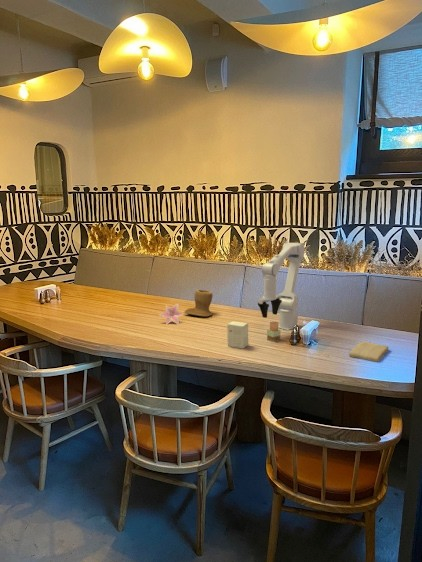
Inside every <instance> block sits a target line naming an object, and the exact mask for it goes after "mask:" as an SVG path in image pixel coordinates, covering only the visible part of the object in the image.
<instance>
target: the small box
mask: <svg viewBox="0 0 422 562" xmlns="http://www.w3.org/2000/svg"><path fill="white" fill-rule="evenodd" d="M226 330H227V347H231V348H237V349H238V348H239V349H245V348H246V347H248V346H249V323H248V322H241V321H231V322H229V323H227V328H226Z"/></svg>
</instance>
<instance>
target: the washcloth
mask: <svg viewBox="0 0 422 562" xmlns="http://www.w3.org/2000/svg"><path fill="white" fill-rule="evenodd" d="M389 348H390V347H389V346H388V345H385V344H376V343H374V342H371V341H370V342H368V341H365V340H363V341H361V342H359V343H357V344H356V345H355V346H353V348H352V349H350V352H349V357H351V358H356V359H360V360H365V361H370V362H374V363H379V361H381V359H382V358H383V357H384V355H385V354H386V353H387V352H389Z"/></svg>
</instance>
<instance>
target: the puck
mask: <svg viewBox="0 0 422 562" xmlns="http://www.w3.org/2000/svg"><path fill="white" fill-rule="evenodd" d="M278 325H279V321H270V322H269V329H270V331H278V330H279V328H278Z"/></svg>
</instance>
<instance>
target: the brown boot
mask: <svg viewBox="0 0 422 562" xmlns="http://www.w3.org/2000/svg"><path fill="white" fill-rule="evenodd" d="M212 300H213V292H212V291H210V290H206V289H205V290H204V289H196V290H195V292H194V304H195V305H194V306H195V307H190V308H186V309H185V310H184V311H183V314H186V315H190V316H191V315H192V316H196V317H210V316H212V315H213V312H212V311H211V310H210V306H211V303H212Z"/></svg>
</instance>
